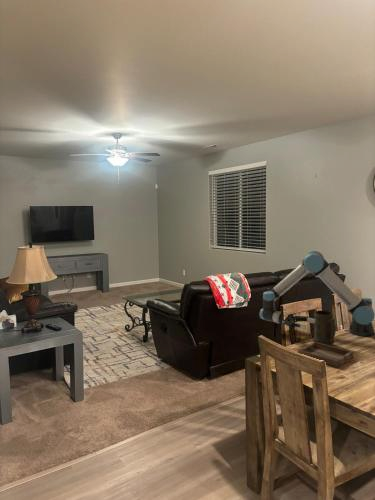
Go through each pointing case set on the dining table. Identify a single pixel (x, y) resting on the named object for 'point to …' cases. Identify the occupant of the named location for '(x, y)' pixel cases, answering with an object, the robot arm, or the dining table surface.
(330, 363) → the walnut tray
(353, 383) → the dining table surface
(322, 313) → the beer stein
